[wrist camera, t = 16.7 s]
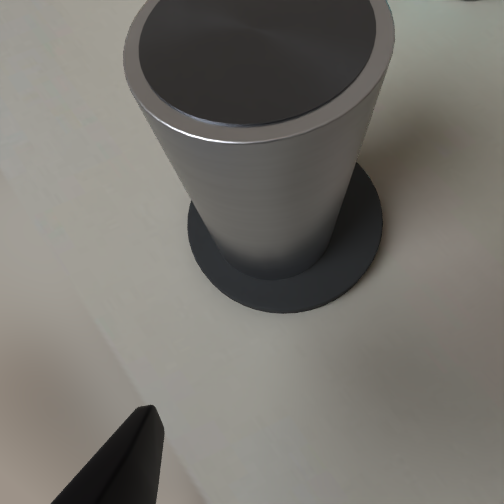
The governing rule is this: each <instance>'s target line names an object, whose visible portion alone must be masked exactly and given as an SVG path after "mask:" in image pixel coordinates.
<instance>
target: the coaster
mask: <svg viewBox="0 0 504 504" xmlns="http://www.w3.org/2000/svg"><path fill="white" fill-rule="evenodd" d="M382 227H383V219H382V209H381V204H380V200H379V197H378V194H377V191H376V189H375V187H374V185H373V183H372V181H371V179H370V178H369V177H368V175H367V174H366V172H365V171H364V170H363V169H362V168H361V166H360V165H359V164H358V163H357V162H356V164H355V167H354V170H353V173H352V176H351V179H350V182H349V185H348V188H347V191H346V194H345V197H344V200H343V203H342V205H341V208H340V211H339V214H338V217H337V220H336V223H335V226H334V229H333V232H332V235H331V238H330V241H329V244H328V246H327V248H326V250H325V252H324V253H323V255H322V256H321V258H320V259H319V260H318V261H317V262H316V263H315V264H314V265H313V266H311V267H310V268H309V269H307V270H306V271H304V272H302V273H300V274H298V275H296V276H293V277H290V278H286V279H281V280H262V279H257V278H253V277H251V276H248V275H245V274H244V273H242V272H240V271H238V270H237V269H235V268H234V267H233V266H232V265H230V264H229V263H228V262H227V260H226V259H225V258H224V257H223V255H222V254H221V252H220V250H219V249H218V247H217V245H216V243H215V241H214V240H213V238H212V236H211V234H210V232H209V231H208V229H207V227H206V225H205V223H204V222H203V220H202V218H201V216H200V215H199V213H198V211H197V209H196V207H195V206H194V204H193V202H192V200H191V203H190V207H189V213H188V237H189V242H190V246H191V250H192V252H193V255H194V257H195V259H196V262H197V263H198V265H199V267H200V268H201V270H202V271H203V273H204V274H205V275H206V276H207V278H208V279H209V280H210V281H211V282H212V284H213V285H214V286H216V287H217V288H218V289H219V290H220V291H221V292H222V293H224V294H225V295H226V296H228V297H229V298H231V299H232V300H234V301H236V302H238V303H240V304H242V305H244V306H247V307H250V308H252V309H255V310H260V311H264V312H269V313H282V314H284V313H298V312H303V311H309V310H312V309H315V308H318V307H321V306H324V305H326V304H328V303H330V302H332V301H334V300H336V299H337V298H339V297H340V296H342V295H343V294H345V293H346V292H347V291H348V290H350V289H351V288H352V287H353V286H354V285H355V284H356V283H357V282H358V281H359V279H360V278H361V277H362V276H363V275H364V273H365V272H366V271H367V269H368V268H369V266H370V265H371V263H372V261H373V260H374V257H375V255H376V253H377V250H378V248H379V244H380V240H381V236H382Z"/></svg>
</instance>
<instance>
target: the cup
mask: <svg viewBox="0 0 504 504" xmlns="http://www.w3.org/2000/svg"><path fill="white" fill-rule="evenodd" d="M394 42H395V29H394V21H393V17H392V12H391V9H390V7H389V5H388V3H387V0H147V2H146V3H145V4H144V5H143V6H142V8H141V9H140V11H139V12H138V13H137V15H136V16H135V18H134V20H133V22H132V24H131V26H130V28H129V31H128V34H127V37H126V40H125V45H124V51H123V66H124V72H125V77H126V80H127V83H128V86H129V88H130V91H131V93H132V94H133V96H134V98H135V100H136V102H137V103H138V105H139V107H140V109H141V110H142V112H143V114H144V116H145V118H146V119H147V121H148V123H149V125H150V127H151V128H152V130H153V132H154V134H155V136H156V137H157V139H158V141H159V143H160V145H161V146H162V148H163V150H164V152H165V154H166V155H167V157H168V159H169V161H170V162H171V164H172V166H173V168H174V170H175V171H176V173H177V175H178V177H179V179H180V180H181V182H182V184H183V186H184V188H185V189H186V191H187V193H188V195H189V197H190V198H191V200H192V202H193V204H194V206H195V207H196V209H197V211H198V213H199V215H200V216H201V218H202V220H203V222H204V223H205V225H206V227H207V229H208V231H209V232H210V234H211V236H212V238H213V240H214V241H215V243H216V245H217V247H218V249H219V250H220V252H221V254H222V255H223V257H224V258H225V259H226V260H227V262H228V263H229V264H230V265H232V266H233V267H234V268H235V269H237V270H238V271H240V272H242V273H244V274H245V275H248V276H251V277H253V278H257V279H262V280H281V279H286V278H290V277H293V276H296V275H298V274H300V273H302V272H304V271H306V270H307V269H309V268H310V267H311V266H313V265H314V264H315V263H316V262H317V261H318V260H319V259H320V258H321V256H322V255H323V253H324V252H325V250H326V248H327V246H328V244H329V241H330V238H331V235H332V232H333V229H334V226H335V223H336V220H337V217H338V214H339V211H340V208H341V205H342V203H343V200H344V197H345V194H346V191H347V188H348V185H349V182H350V179H351V176H352V173H353V170H354V167H355V164H356V161H357V158H358V155H359V152H360V149H361V146H362V143H363V140H364V137H365V134H366V131H367V128H368V125H369V122H370V119H371V116H372V113H373V110H374V107H375V104H376V101H377V98H378V95H379V92H380V89H381V86H382V83H383V80H384V77H385V74H386V72H387V69H388V66H389V63H390V60H391V57H392V54H393V48H394Z"/></svg>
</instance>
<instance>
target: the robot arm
mask: <svg viewBox="0 0 504 504" xmlns="http://www.w3.org/2000/svg"><path fill="white" fill-rule="evenodd" d="M163 442H164V427H163V424H162V421H161V419H160V417H159V414H158V412H157V410H156V408H155V406H153V405H147V406H141V407H138V408H137V409H135V411H134V412H133V413H132V414H131V415H130V416H129V417H128V418H127V419H126V420H125V422H124V423H123V424H122V425H121V426H120V427H119V428H118V429H117V431H116V432H115V433H114V434H113V435H112V436H111V437H110V438H109V439H108V440H107V442H106V443H105V444H104V445H103V446H102V447H101V448H100V449H99V451H98V452H97V453H96V454H95V455H94V456H93V457H92V458H91V459H90V461H89V462H88V463H87V464H86V465H85V466H84V467H83V468H82V470H81V471H80V472H79V473H78V474H77V475H76V476H75V477H74V478H73V480H72V481H71V482H70V483H69V484H68V485H67V486H66V487H65V488H64V489H63V491H62V492H61V493H60V494H59V495H58V496H57V497H56V498H55V500H54V501H53V502H52V503H51V504H156V498H157V492H158V484H159V475H160V466H161V459H162V451H163Z"/></svg>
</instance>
